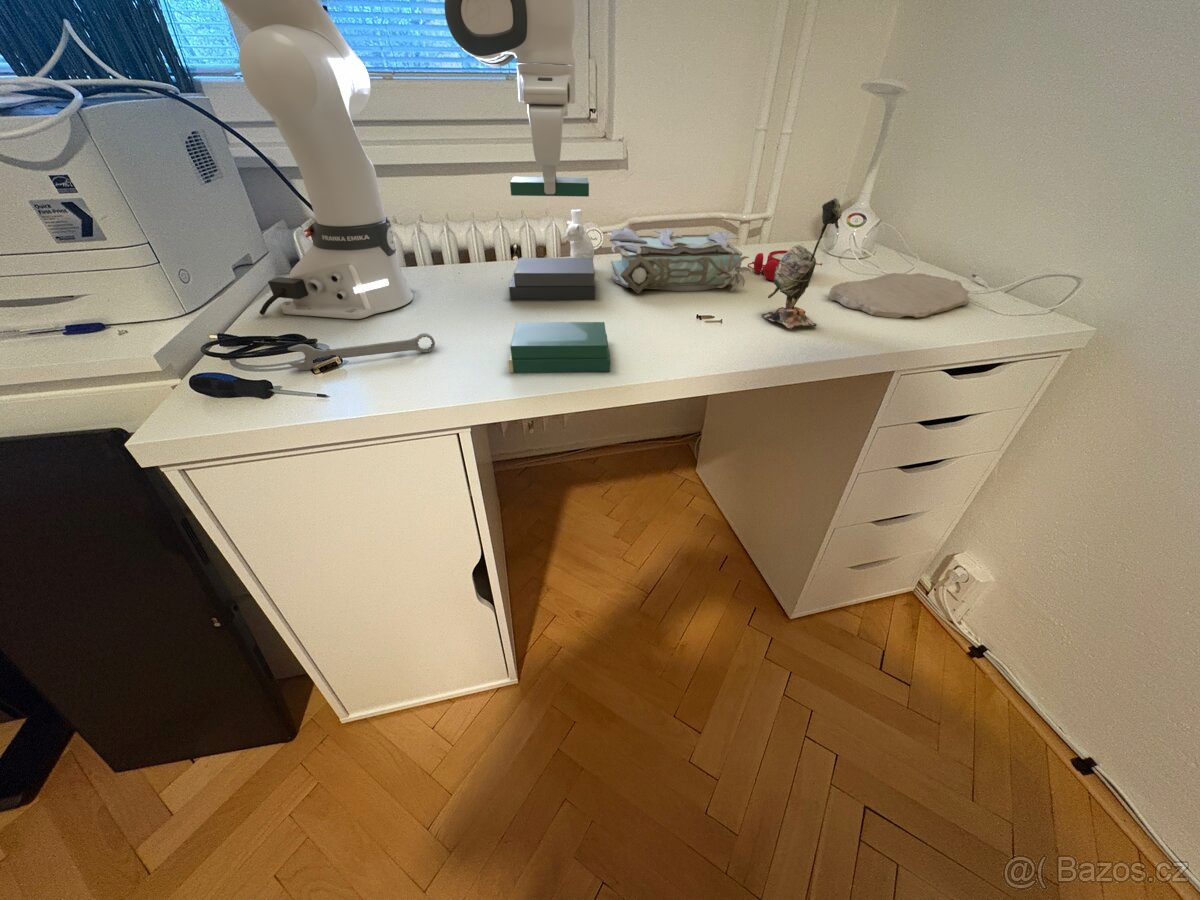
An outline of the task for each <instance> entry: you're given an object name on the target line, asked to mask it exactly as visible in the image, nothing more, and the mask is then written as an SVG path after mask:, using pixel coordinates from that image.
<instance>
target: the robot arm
mask: <svg viewBox="0 0 1200 900" xmlns="http://www.w3.org/2000/svg"><path fill="white" fill-rule="evenodd" d="M219 1H220V2H221V3H222V4H223V5H224V6H225V7H227V8H228V9H229V10H230V11H231V12H232V13H233V14H234V15H235V16H236V17H237V18H238V20H240V22H241V23H242V24H243V25H244V26H245V27H246V28H247V29H248V30H249V34H247V36H245V38H244V39H243V41H242V43H241V45H240V47H239V51H238V52H239V53H238V65H239V69H240V73H241V77H242V79H243V82H244V84H245V86H246V88H247V89H248V91H249V93H250V94H251V96H252V97H253V98H254V100H256V102H257V103H258V104H259V106H261V107H262V108H263V109H264V110H265V111H266V112H267V113H268V114H269V116H270V117H271V119H272V120H273V122H274V124H275V126H276V128H277V129H278V131H279V133H280V135H281V137H282V138H283V140H284V142H285V144H286V146H287V147H288V149H289V152H290V154H291V155H292V157H293V159H294V161H295V163H296V165H297V168H298V170H299V172H300V175H301V179H302V182H303V184H304V186H305V190H306V193H307V196H308V199H309V202H310V205H311V209H312V211H313V215H314V218H315V220H314V222H313V223H312V224H311V225H309V226H308V227H307V228H306V229H304V230H303V233H306V234H305V236H304V237H305V239H307V238H310V239H311V240H312V246H311V247H310V249H308V251H307V252H306V253H305V254H304V255H303V256H302V257H301V258H300V259H299V261H297V262H296V264H295V265H294V266H293V267H292V268H291V270H290V271H289V274H288V277H286V276H285V277H284V276H277V277H274V278H272V279H270V280H268V281H267V283H268V286H269V288H270V290H271V293H272V296H270V297H269V298H268V299H267V300H265V302H264V304H263V305H262V307H261V308H260V310H259V314H260V315H261V316H262V315H263V316H264V315H265V314H266V313H267V310H268V309H269V307H270V306H271V305H272V304H273V303H275V301H277V299H279V298H281V299H282V298H283V299H284V300H283V301H282V303H281V305H280V307H281V311H282V313H283V314H285V315H296V316H307V317H320V318H321V317H322V318H335V319H347V320H361V319H365V318H367V317H370V316H373V315H376V314H381V313H384V312H385V313H386V312H388V311H393V310H396V309H399V308H402V307H403V306H406V305H408V304H409V303H410V302H412V300H413V299H414V294H413V291H412V290H411V288H410V285H409V284H408V281H407V280H406V278H405V275H404V273H403V270H402V268H401V264H400V262H399V259H398V255H397V253H396V251H397V245H396V239H395V234H394V230H393V228H392V225H391V222H390V221H391V220H390V218H389V217H388V216H387V215H386V211H385V207H384V202H383V197H382V194H381V193H382V192H381V190H380V189H381V188H380V184H379V179H378V176H377V172H376V168H375V166H374V164H373V162H372V161H371V159H370V158H369V156H368V154H367V153H366V151H365V149H364V147H363V144H362V142H361V140H360V138H359V135H358V133H357V130H356V128H355V126H354V123H353V120H352V119H353V118H355V117H357V116H358V115H359V114H361V112H362V111H363V110H364V109H365V107H366V106H367V104H368V102H369V100H370V96H371V93H372V92H371V90H372V88H371V87H372V86H371V85H372V84H371V79H370V75H369V72H368V70H367V68H366V66H365V64H364V62H363V60H362V59H361V58H360V57H359V55H358V54H356V52H355V51H354V50H353V49H352V47H351V46H350V45H349V44H348V42H347V40H346V39H345V37H343V35H342V33H341V31H340V30H339V29H338V27H337V26H336V24H335V22H334V21H333V19H331V17H330V15H329V14H328V13H327V11H326V9H325V8H324V7H323V5H322V4H321V3H320V1H319V0H219ZM444 16H445V21H446V25H447V28H448V30H449V32H450V34H451V36H452V38H453V39H454V41H455V42H456V43H457V45H458V46H459V47H460V48H461V49H462V50H463V51H464V52H466V53H467V54H468V55H470V56H472V57H473V58H475V59H476V60H477V61H478V62H480V63H481V64H482V65H485V66H487V67H493V68H500V67H505V66H506V65H508V64H509V63H511V62H513V60H514V59H515V63H516V74H517V75H516V76H517V91H518V102H519V103H523V104H524V105H526V106H527V107H526V108H527V115H528V122H529V129H530V136H531V142H532V143H531V144H532V150H533V156H534V160H535V163H536V165H537V166H541V171H542V177H543V179H544V192H545V193H546V194H554V193H555V177H557V166H559V164H560V161H561V154H562V140H563V128H564V127H563V126H564V117H568V115H569V114H568V109H569V108H568V106H569V105H570V104H571V105H572V104H576V60H575V57H574V51H573V39H574V34H575V28H576V27H575V25H576V24H575V23H576V22H575V0H444Z"/></svg>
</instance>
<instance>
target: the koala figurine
mask: <svg viewBox="0 0 1200 900" xmlns="http://www.w3.org/2000/svg"><path fill="white" fill-rule="evenodd" d="M570 216H571V220H567V221H566V225H567V228H566V230H565V233H566V234H565V235H564V239H565V241H567V242H569V246H570V252H569V255H570V258H593V259H594V258H595V246H594V244H593V242H592V239H591V236H590V235H589V233H588V232H587V231H586V230H585V228H584V226H583V225H582V209H581V208H580V209H574V208H572V209H571V210H570Z"/></svg>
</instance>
